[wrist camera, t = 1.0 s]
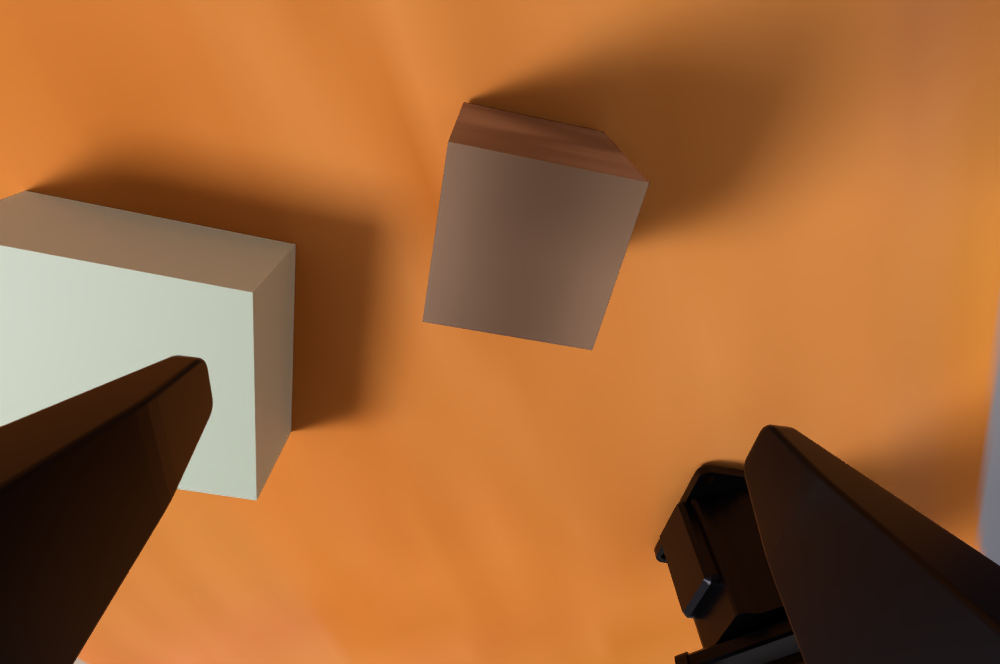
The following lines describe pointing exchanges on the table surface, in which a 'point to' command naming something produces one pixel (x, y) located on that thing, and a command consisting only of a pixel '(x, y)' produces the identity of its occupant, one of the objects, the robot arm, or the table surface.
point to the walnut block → (530, 227)
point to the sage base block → (150, 322)
